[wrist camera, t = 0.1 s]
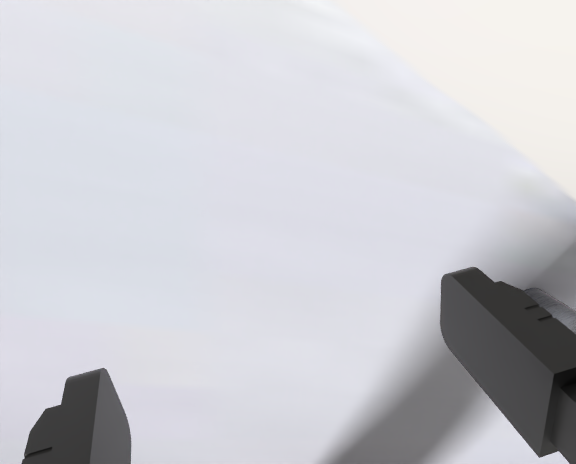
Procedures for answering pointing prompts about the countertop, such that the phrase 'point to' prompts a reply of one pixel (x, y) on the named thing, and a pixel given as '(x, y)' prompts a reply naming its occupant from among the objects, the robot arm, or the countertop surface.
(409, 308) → the countertop surface
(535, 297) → the salt shaker
